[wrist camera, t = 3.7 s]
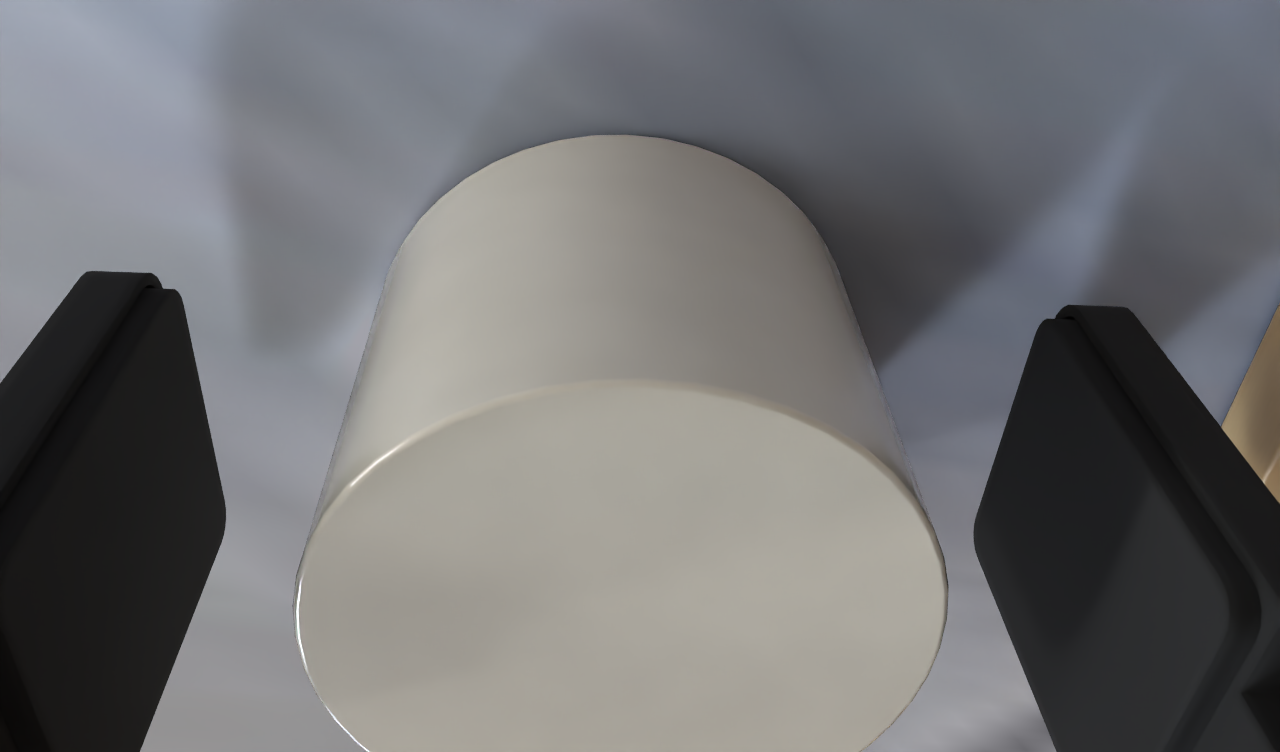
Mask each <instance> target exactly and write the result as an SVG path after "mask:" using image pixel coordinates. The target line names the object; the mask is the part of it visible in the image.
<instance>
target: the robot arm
mask: <svg viewBox="0 0 1280 752" xmlns="http://www.w3.org/2000/svg"><path fill="white" fill-rule="evenodd" d="M225 522H226V507H225V500H224V495H223V491H222V486H221V481H220V476H219V472H218V467H217V462H216V457H215V453H214V448H213V443H212V438H211V433H210V429H209V424H208V419H207V414H206V410H205V405H204V400H203V395H202V391H201V386H200V381H199V376H198V371H197V367H196V362H195V357H194V352H193V348H192V343H191V338H190V333H189V329H188V324H187V319H186V314H185V310H184V305H183V302H182V298H181V296H180V294H179V293H178V291H176V290H175V289H163V288H162V285H161V283H160V281H159V279H158V278H157V277H156V276H155V275H154V274H152V273H132V272H104V271H90V272H86V273H85V274H84V275H82V276H81V277H80V279H79V280H78V281H77V283H76V284H75V285H74V287H73V288H72V289H71V291H70V292H69V293H68V295H67V296H66V297H65V299H64V300H63V301H62V302H61V304H60V305H59V306H58V308H57V309H56V310H55V312H54V313H53V314H52V316H51V317H50V318H49V320H48V321H47V322H46V324H45V325H44V326H43V328H42V329H41V330H40V332H39V333H38V334H37V336H36V337H35V338H34V340H33V341H32V342H31V344H30V345H29V346H28V348H27V349H26V350H25V352H24V353H23V354H22V356H21V357H20V358H19V360H18V361H17V362H16V363H15V365H14V366H13V367H12V369H11V370H10V371H9V373H8V374H7V375H6V377H5V378H4V379H3V381H2V382H1V383H0V752H140V750H141V747H142V744H143V742H144V739H145V737H146V734H147V732H148V729H149V727H150V724H151V721H152V719H153V716H154V714H155V711H156V709H157V706H158V704H159V701H160V698H161V696H162V693H163V691H164V688H165V686H166V683H167V681H168V678H169V675H170V673H171V670H172V668H173V665H174V663H175V660H176V658H177V655H178V652H179V650H180V647H181V645H182V642H183V640H184V637H185V634H186V632H187V629H188V627H189V624H190V622H191V619H192V617H193V614H194V611H195V609H196V606H197V604H198V601H199V599H200V596H201V594H202V591H203V588H204V586H205V583H206V581H207V578H208V576H209V573H210V571H211V568H212V565H213V563H214V560H215V558H216V555H217V553H218V550H219V548H220V545H221V542H222V539H223V536H224V530H225ZM974 545H975V551H976V554H977V557H978V560H979V562H980V565H981V567H982V569H983V572H984V574H985V577H986V579H987V582H988V584H989V587H990V589H991V592H992V594H993V596H994V599H995V601H996V604H997V606H998V609H999V611H1000V614H1001V616H1002V619H1003V621H1004V623H1005V626H1006V628H1007V631H1008V633H1009V636H1010V638H1011V641H1012V643H1013V646H1014V648H1015V650H1016V653H1017V655H1018V658H1019V660H1020V663H1021V665H1022V668H1023V670H1024V673H1025V675H1026V677H1027V680H1028V682H1029V685H1030V687H1031V690H1032V692H1033V695H1034V697H1035V700H1036V702H1037V704H1038V707H1039V709H1040V712H1041V714H1042V717H1043V719H1044V722H1045V724H1046V727H1047V729H1048V731H1049V734H1050V736H1051V739H1052V741H1053V744H1054V746H1055V749H1056V751H1057V752H1280V504H1279V502H1278V501H1277V500H1276V498H1275V497H1274V496H1273V494H1272V493H1271V492H1270V491H1269V489H1268V488H1267V487H1266V485H1265V484H1264V483H1263V481H1262V480H1261V479H1260V478H1259V476H1258V475H1257V474H1256V472H1255V471H1254V470H1253V468H1252V467H1251V466H1250V464H1249V463H1248V462H1247V461H1246V459H1245V458H1244V457H1243V455H1242V454H1241V453H1240V451H1239V450H1238V449H1237V448H1236V446H1235V445H1234V444H1233V442H1232V441H1231V440H1230V438H1229V437H1228V436H1227V435H1226V433H1225V432H1224V431H1223V429H1222V428H1221V427H1220V425H1219V424H1218V423H1217V421H1216V420H1215V419H1214V418H1213V416H1212V415H1211V414H1210V412H1209V411H1208V410H1207V408H1206V407H1205V406H1204V405H1203V403H1202V402H1201V401H1200V399H1199V398H1198V397H1197V395H1196V394H1195V393H1194V391H1193V390H1192V389H1191V388H1190V386H1189V385H1188V384H1187V382H1186V381H1185V380H1184V378H1183V377H1182V376H1181V375H1180V373H1179V372H1178V371H1177V369H1176V368H1175V367H1174V365H1173V364H1172V363H1171V362H1170V360H1169V359H1168V358H1167V356H1166V355H1165V354H1164V352H1163V351H1162V350H1161V348H1160V347H1159V346H1158V345H1157V343H1156V342H1155V341H1154V339H1153V338H1152V337H1151V335H1150V334H1149V333H1148V332H1147V330H1146V329H1145V328H1144V326H1143V325H1142V324H1141V322H1140V321H1139V320H1138V318H1137V317H1136V316H1135V315H1134V313H1133V312H1131V311H1130V310H1129V309H1128V308H1125V307H1114V306H1085V305H1067V306H1065V307H1063V308H1062V309H1061V310H1060V311H1059V313H1058V314H1057V315H1056V318H1055V319H1046V320H1044V321H1042V323H1041V324H1040V325H1039V327H1038V329H1037V332H1036V334H1035V337H1034V340H1033V343H1032V346H1031V349H1030V352H1029V356H1028V359H1027V362H1026V365H1025V368H1024V371H1023V374H1022V377H1021V380H1020V383H1019V386H1018V389H1017V392H1016V395H1015V399H1014V402H1013V405H1012V408H1011V411H1010V414H1009V417H1008V420H1007V423H1006V426H1005V429H1004V432H1003V435H1002V438H1001V442H1000V445H999V448H998V451H997V454H996V457H995V460H994V463H993V466H992V469H991V472H990V475H989V478H988V481H987V485H986V488H985V491H984V494H983V497H982V500H981V503H980V506H979V509H978V512H977V515H976V519H975V523H974Z"/></svg>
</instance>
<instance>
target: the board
mask: <svg viewBox="0 0 1280 752" xmlns="http://www.w3.org/2000/svg"><path fill="white" fill-rule="evenodd" d="M1221 428H1222V429H1223V431H1224V432H1225V433H1226V435H1227V436H1228V437H1229V438H1230V440H1231V441H1232V442H1233V444H1234V445H1235V446H1236V448H1237V449H1238V450H1239V451H1240V453H1241V454H1242V455H1243V457H1244V458H1245V459H1246V461H1247V462H1248V463H1249V464H1250V466H1251V467H1252V468H1253V470H1254V471H1255V472H1256V474H1257V475H1258V476H1259V478H1260V479H1261V480H1262V481H1263V483H1264V484H1265V485H1266V487H1267V488H1268V489H1269V491H1270V492H1271V493H1272V494H1273V496H1274V497H1275V498H1276V500H1277V501H1278V502H1279V504H1280V303H1279V305H1278V307H1277V310H1276V312H1275V314H1274V316H1273V318H1272V320H1271V322H1270V324H1269V327H1268V329H1267V331H1266V333H1265V335H1264V337H1263V339H1262V341H1261V343H1260V346H1259V348H1258V350H1257V352H1256V354H1255V356H1254V358H1253V360H1252V363H1251V365H1250V367H1249V369H1248V371H1247V373H1246V375H1245V377H1244V379H1243V382H1242V384H1241V386H1240V388H1239V390H1238V392H1237V394H1236V396H1235V398H1234V401H1233V403H1232V405H1231V407H1230V409H1229V411H1228V413H1227V415H1226V418H1225V420H1224V422H1223V424H1222V426H1221Z"/></svg>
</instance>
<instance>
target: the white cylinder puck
mask: <svg viewBox="0 0 1280 752" xmlns="http://www.w3.org/2000/svg"><path fill="white" fill-rule="evenodd" d="M947 609H948V580H947V573H946V567H945V560H944V556H943V553H942V550H941V547H940V544H939V541H938V539H937V536H936V533H935V530H934V527H933V525H932V522H931V519H930V517H929V514H928V511H927V508H926V506H925V503H924V500H923V498H922V495H921V492H920V490H919V487H918V484H917V481H916V479H915V476H914V473H913V471H912V468H911V465H910V463H909V460H908V457H907V454H906V452H905V449H904V446H903V444H902V441H901V438H900V436H899V433H898V430H897V427H896V425H895V422H894V419H893V417H892V414H891V411H890V409H889V406H888V403H887V400H886V398H885V395H884V392H883V390H882V387H881V384H880V382H879V379H878V376H877V373H876V371H875V368H874V365H873V363H872V360H871V357H870V355H869V352H868V349H867V346H866V344H865V341H864V338H863V336H862V333H861V330H860V328H859V325H858V322H857V319H856V317H855V314H854V311H853V309H852V306H851V303H850V301H849V298H848V295H847V292H846V290H845V287H844V284H843V282H842V279H841V276H840V274H839V271H838V268H837V265H836V263H835V260H834V258H833V257H832V255H831V253H830V251H829V249H828V247H827V246H826V244H825V242H824V240H823V238H822V236H821V235H820V234H819V232H818V231H817V230H816V229H815V227H814V226H813V225H812V223H811V222H810V221H809V219H808V218H807V217H806V215H805V214H804V213H803V212H802V211H801V210H800V209H799V208H798V207H797V206H796V205H795V204H794V203H793V202H792V201H791V200H790V199H789V198H788V197H787V196H786V195H785V194H783V193H782V192H781V191H780V190H778V189H777V188H776V187H774V186H773V185H772V184H770V183H769V182H767V181H766V180H765V179H763V178H762V177H761V176H759V175H758V174H756V173H755V172H753V171H751V170H749V169H747V168H745V167H743V166H741V165H740V164H738V163H736V162H734V161H732V160H730V159H728V158H726V157H723V156H721V155H718V154H715V153H713V152H710V151H707V150H705V149H702V148H699V147H697V146H693V145H688V144H684V143H680V142H676V141H671V140H667V139H663V138H654V137H644V136H635V135H592V136H585V137H578V138H571V139H564V140H558V141H554V142H550V143H547V144H543V145H539V146H536V147H532V148H528V149H525V150H522V151H520V152H517V153H515V154H513V155H510V156H508V157H505V158H503V159H501V160H498V161H496V162H493V163H492V164H490V165H488V166H487V167H485V168H483V169H481V170H480V171H478V172H476V173H474V174H473V175H471V176H469V177H468V178H466V179H464V180H463V181H462V182H461V183H459V184H458V185H457V186H455V187H454V188H453V189H452V190H450V191H449V192H448V193H446V194H445V195H444V196H443V197H441V198H440V199H439V200H438V201H437V202H436V203H435V204H434V205H433V206H432V207H431V208H430V209H429V210H428V211H427V212H426V214H425V215H424V216H423V217H422V218H421V219H420V220H419V221H418V222H417V224H416V225H415V226H414V228H413V229H412V231H411V232H410V233H409V235H408V236H407V238H406V239H405V240H404V242H403V243H402V245H401V247H400V249H399V251H398V253H397V255H396V257H395V259H394V261H393V263H392V265H391V267H390V269H389V271H388V274H387V277H386V280H385V284H384V287H383V290H382V293H381V296H380V299H379V303H378V306H377V309H376V313H375V316H374V319H373V323H372V326H371V329H370V333H369V336H368V339H367V343H366V346H365V349H364V352H363V356H362V359H361V362H360V366H359V369H358V372H357V376H356V379H355V382H354V386H353V389H352V392H351V396H350V399H349V402H348V406H347V409H346V412H345V415H344V419H343V422H342V425H341V429H340V432H339V435H338V439H337V442H336V445H335V449H334V452H333V455H332V459H331V462H330V465H329V469H328V472H327V475H326V479H325V482H324V485H323V488H322V492H321V495H320V498H319V502H318V505H317V508H316V512H315V515H314V518H313V522H312V525H311V528H310V532H309V535H308V538H307V542H306V545H305V548H304V551H303V555H302V558H301V561H300V565H299V568H298V571H297V575H296V582H295V590H294V599H293V617H294V630H295V638H296V642H297V645H298V649H299V653H300V656H301V660H302V663H303V667H304V670H305V672H306V674H307V676H308V678H309V680H310V682H311V684H312V686H313V688H314V690H315V692H316V694H317V696H318V697H319V699H320V700H321V702H322V703H323V705H324V706H325V707H326V709H327V710H328V712H329V713H330V715H331V716H332V717H333V719H334V720H335V721H336V722H337V723H338V724H339V725H340V726H341V727H342V729H343V730H344V731H345V732H346V733H347V734H348V735H349V736H350V737H351V738H352V739H353V740H354V741H355V742H356V743H357V744H358V745H360V746H361V747H362V748H363V749H364V750H366V751H367V752H861V751H862V750H864V749H865V748H866V747H868V746H869V745H870V744H871V743H872V742H873V741H875V740H876V739H877V738H878V737H879V736H880V735H881V734H882V733H883V732H884V731H885V730H887V729H888V728H889V727H890V726H891V725H892V724H893V723H894V722H895V720H896V719H897V718H898V717H899V716H900V715H901V713H902V712H903V711H904V710H905V709H906V707H907V706H908V705H909V704H910V703H911V702H912V700H913V699H914V697H915V696H916V694H917V692H918V691H919V689H920V688H921V686H922V684H923V683H924V681H925V680H926V678H927V676H928V675H929V672H930V670H931V668H932V665H933V663H934V661H935V658H936V656H937V654H938V651H939V649H940V645H941V641H942V637H943V633H944V628H945V624H946V620H947Z"/></svg>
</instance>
